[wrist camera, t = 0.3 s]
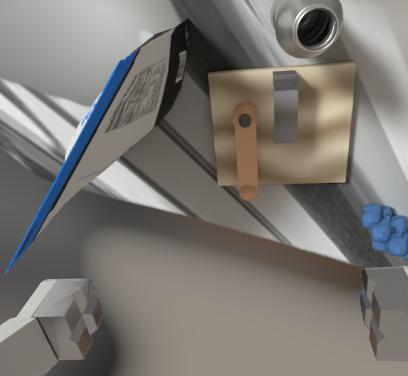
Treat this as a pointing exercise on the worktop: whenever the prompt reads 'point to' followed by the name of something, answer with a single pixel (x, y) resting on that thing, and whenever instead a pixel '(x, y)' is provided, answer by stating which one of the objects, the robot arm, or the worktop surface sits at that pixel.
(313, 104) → the board
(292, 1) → the plastic bottle
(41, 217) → the protein powder
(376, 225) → the grapes
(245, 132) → the link
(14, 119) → the worktop surface
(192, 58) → the worktop surface
